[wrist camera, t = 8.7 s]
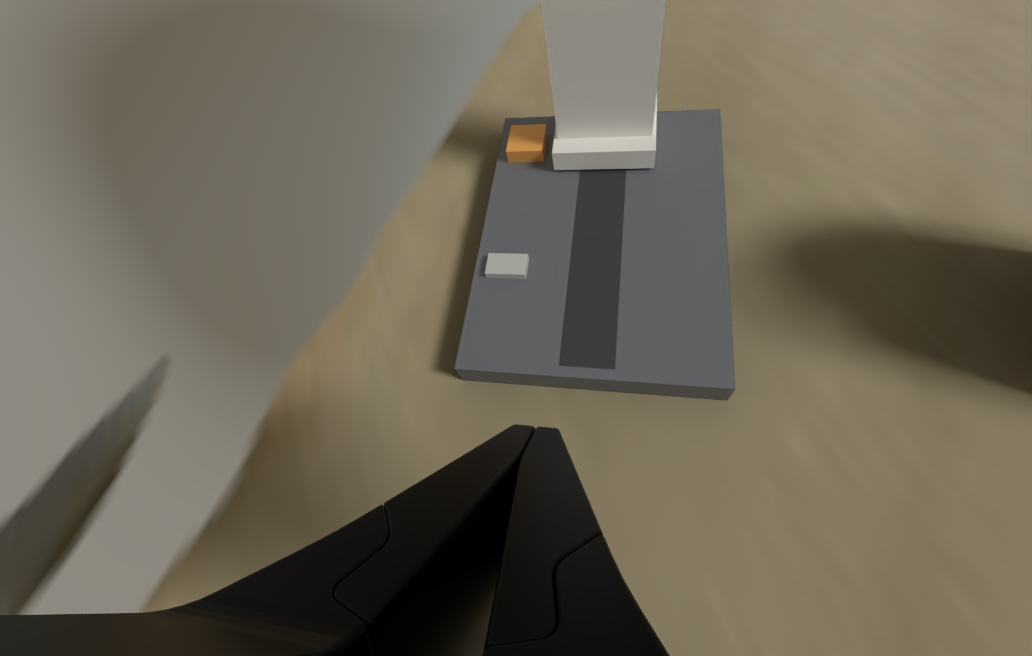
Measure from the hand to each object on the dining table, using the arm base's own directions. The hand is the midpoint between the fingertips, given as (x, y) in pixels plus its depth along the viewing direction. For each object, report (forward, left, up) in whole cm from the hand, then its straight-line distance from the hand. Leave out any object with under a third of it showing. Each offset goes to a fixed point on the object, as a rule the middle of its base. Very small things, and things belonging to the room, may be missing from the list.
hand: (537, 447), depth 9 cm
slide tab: (+17, +10, -11) cm, 22 cm away
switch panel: (+12, +7, -12) cm, 18 cm away
